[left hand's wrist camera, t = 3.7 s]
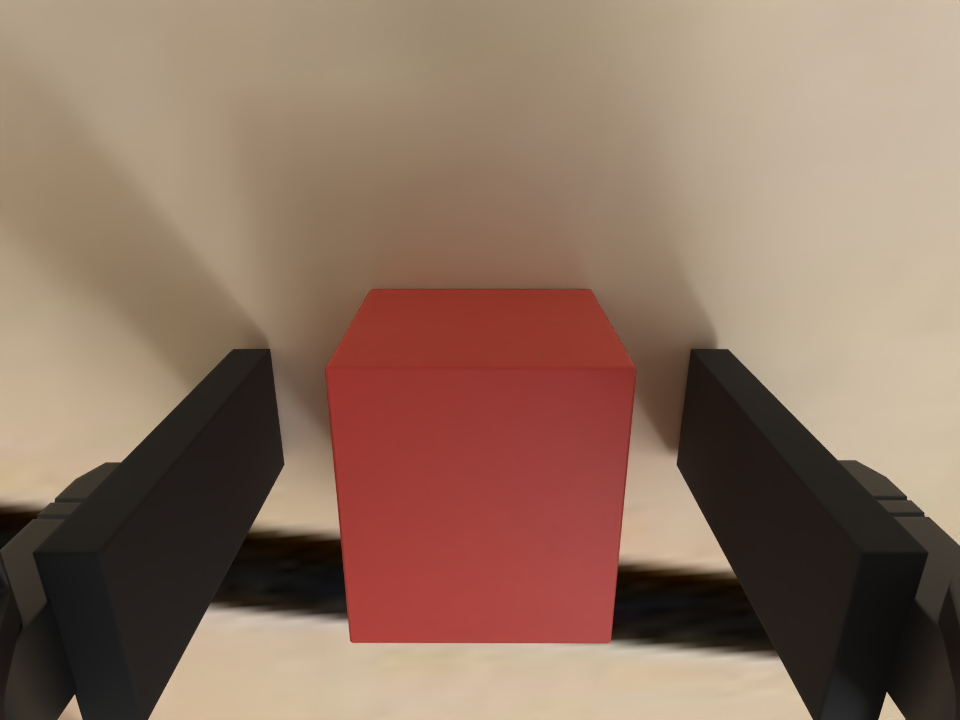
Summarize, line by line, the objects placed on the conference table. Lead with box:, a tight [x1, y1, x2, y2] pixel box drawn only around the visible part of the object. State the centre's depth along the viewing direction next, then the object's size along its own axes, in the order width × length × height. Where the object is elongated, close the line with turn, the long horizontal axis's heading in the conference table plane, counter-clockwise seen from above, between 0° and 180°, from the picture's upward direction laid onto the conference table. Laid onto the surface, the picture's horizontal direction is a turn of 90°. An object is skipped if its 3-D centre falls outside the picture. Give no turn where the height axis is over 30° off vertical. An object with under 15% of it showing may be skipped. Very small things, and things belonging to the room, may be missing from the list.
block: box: [325, 289, 636, 643], centre depth 12 cm, size 5×4×4 cm
